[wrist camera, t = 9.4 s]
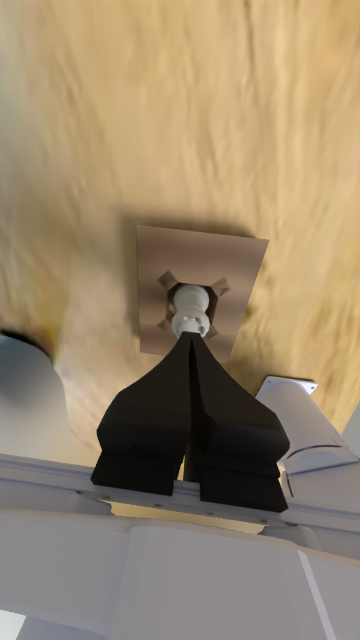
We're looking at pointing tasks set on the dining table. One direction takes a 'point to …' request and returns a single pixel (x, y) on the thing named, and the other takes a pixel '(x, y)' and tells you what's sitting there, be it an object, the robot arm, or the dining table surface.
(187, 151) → the dining table surface
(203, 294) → the rook chess piece
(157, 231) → the socket board
